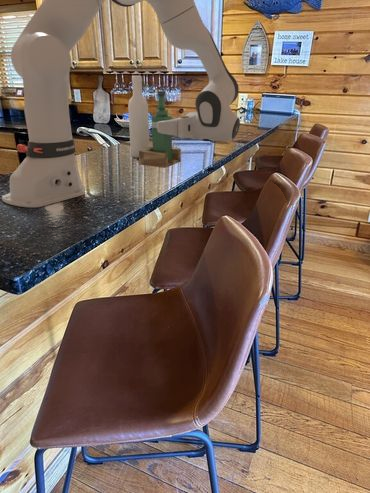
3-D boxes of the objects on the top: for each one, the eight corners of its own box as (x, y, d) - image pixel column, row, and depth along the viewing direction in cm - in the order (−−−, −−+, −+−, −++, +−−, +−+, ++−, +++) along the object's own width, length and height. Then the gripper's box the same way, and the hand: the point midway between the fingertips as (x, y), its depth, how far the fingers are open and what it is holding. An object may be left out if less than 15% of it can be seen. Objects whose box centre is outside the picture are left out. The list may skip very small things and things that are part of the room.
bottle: (146, 158, 144) (143, 75, 131) (128, 157, 146) (123, 75, 133) (152, 154, 151) (149, 75, 138) (134, 153, 153) (130, 75, 140)
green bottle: (165, 162, 133) (163, 91, 122) (153, 161, 135) (151, 91, 125) (172, 160, 137) (171, 91, 127) (160, 158, 139) (158, 90, 129)
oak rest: (164, 167, 130) (164, 153, 128) (139, 164, 134) (138, 150, 132) (180, 161, 139) (180, 148, 137) (156, 158, 144) (156, 145, 142)
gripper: (206, 113, 132) (173, 111, 138) (180, 118, 115) (144, 116, 121) (206, 131, 135) (174, 129, 140) (180, 139, 118) (144, 135, 124)
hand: (159, 123), depth 131 cm, fingers open, 8 cm apart
